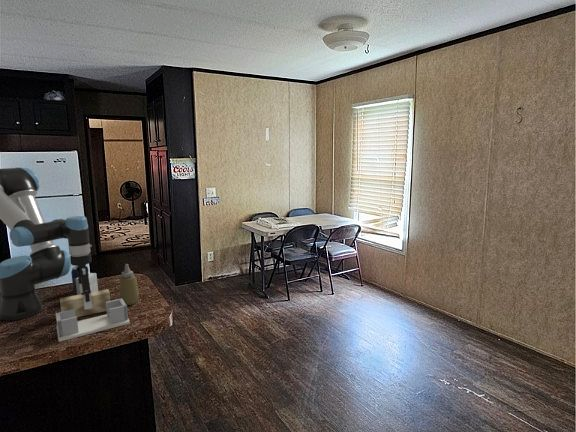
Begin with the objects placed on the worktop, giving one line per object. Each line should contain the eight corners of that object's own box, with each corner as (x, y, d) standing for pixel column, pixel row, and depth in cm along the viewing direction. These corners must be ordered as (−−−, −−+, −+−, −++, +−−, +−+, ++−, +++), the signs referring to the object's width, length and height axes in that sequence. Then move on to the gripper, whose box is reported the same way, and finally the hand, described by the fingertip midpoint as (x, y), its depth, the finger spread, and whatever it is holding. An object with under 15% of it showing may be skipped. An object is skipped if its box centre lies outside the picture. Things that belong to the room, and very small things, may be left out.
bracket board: (58, 341, 130) (56, 323, 129) (56, 328, 140) (54, 311, 138) (129, 323, 143) (128, 306, 142) (123, 312, 153) (122, 296, 152)
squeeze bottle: (126, 308, 157) (122, 268, 154) (116, 303, 162) (112, 265, 159) (143, 302, 164) (140, 263, 160) (133, 297, 168) (130, 260, 165)
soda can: (72, 290, 178) (69, 266, 176) (88, 287, 182) (86, 264, 180) (74, 294, 172) (71, 270, 170) (90, 291, 176) (88, 267, 174)
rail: (62, 320, 147) (60, 302, 145) (62, 316, 150) (59, 298, 149) (111, 310, 156) (109, 292, 155) (110, 306, 160) (108, 289, 158)
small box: (87, 293, 174) (85, 272, 172) (98, 293, 173) (96, 272, 172) (77, 300, 166) (74, 278, 164) (89, 300, 166) (86, 278, 164)
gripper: (95, 259, 141) (100, 311, 144) (87, 246, 161) (92, 291, 164) (72, 263, 136) (79, 316, 140) (67, 249, 156) (73, 295, 160)
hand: (86, 303), depth 152 cm, fingers open, 13 cm apart
